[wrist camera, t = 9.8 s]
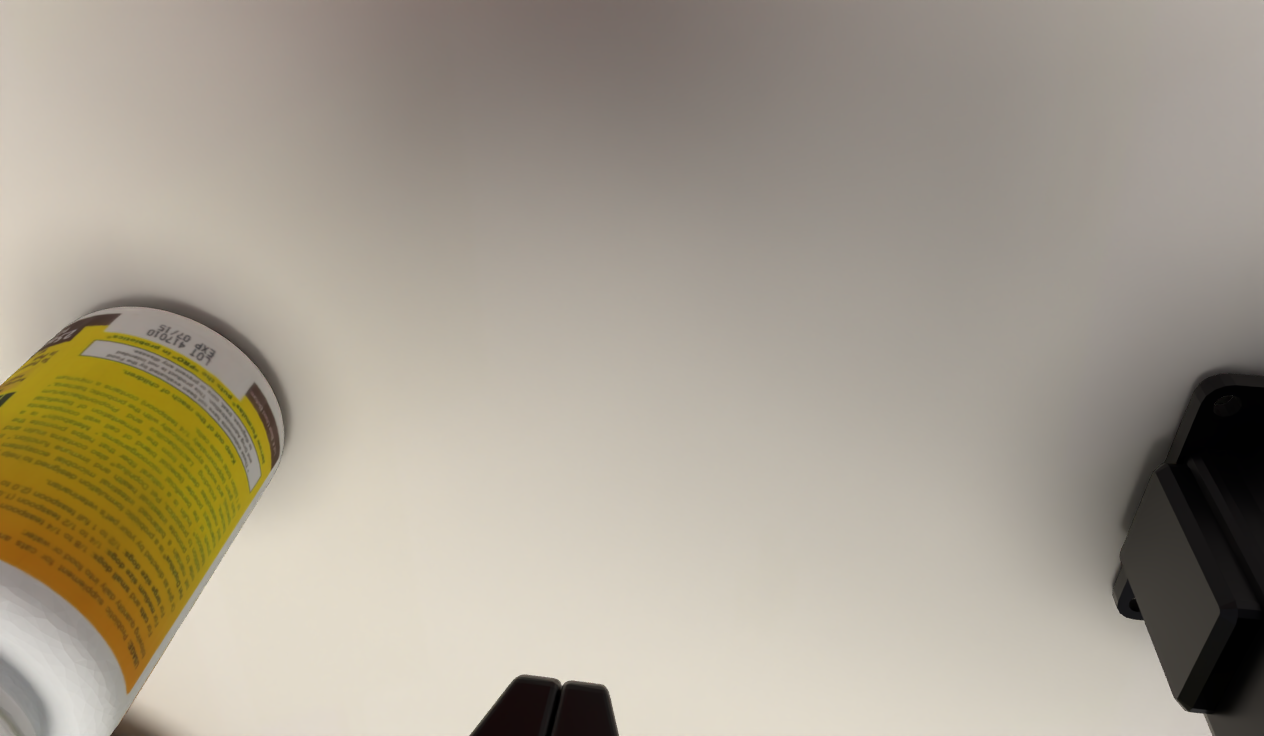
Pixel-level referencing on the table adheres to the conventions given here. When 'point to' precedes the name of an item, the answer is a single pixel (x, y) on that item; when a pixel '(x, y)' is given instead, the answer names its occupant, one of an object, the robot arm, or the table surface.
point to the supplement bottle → (118, 506)
